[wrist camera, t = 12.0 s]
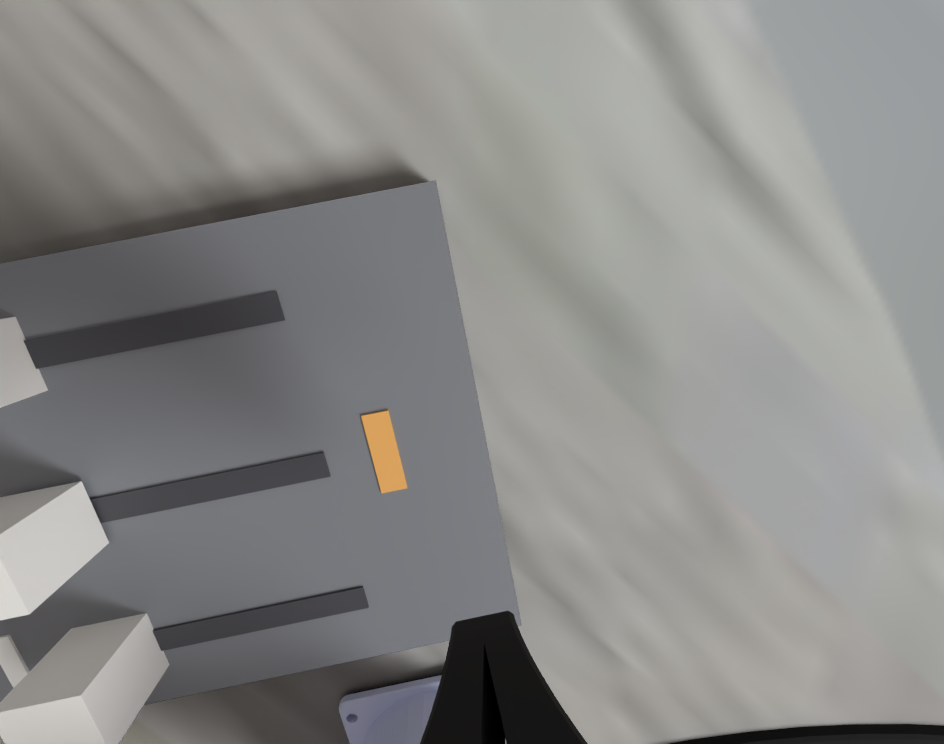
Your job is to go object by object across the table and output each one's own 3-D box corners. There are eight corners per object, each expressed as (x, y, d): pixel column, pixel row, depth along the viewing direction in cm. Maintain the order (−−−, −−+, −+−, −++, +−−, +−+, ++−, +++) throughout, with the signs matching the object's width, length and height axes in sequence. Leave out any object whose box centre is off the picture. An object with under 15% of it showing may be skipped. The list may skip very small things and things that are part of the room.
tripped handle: (109, 543, 18) (29, 614, 14) (28, 559, 18) (-72, 635, 14) (81, 480, 17) (-9, 540, 14) (-2, 497, 17) (-115, 561, 14)
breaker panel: (516, 600, 22) (538, 703, 17) (-11, 710, 21) (-146, 850, 16) (435, 186, 17) (435, 160, 12) (-242, 315, 17) (-531, 343, 12)
